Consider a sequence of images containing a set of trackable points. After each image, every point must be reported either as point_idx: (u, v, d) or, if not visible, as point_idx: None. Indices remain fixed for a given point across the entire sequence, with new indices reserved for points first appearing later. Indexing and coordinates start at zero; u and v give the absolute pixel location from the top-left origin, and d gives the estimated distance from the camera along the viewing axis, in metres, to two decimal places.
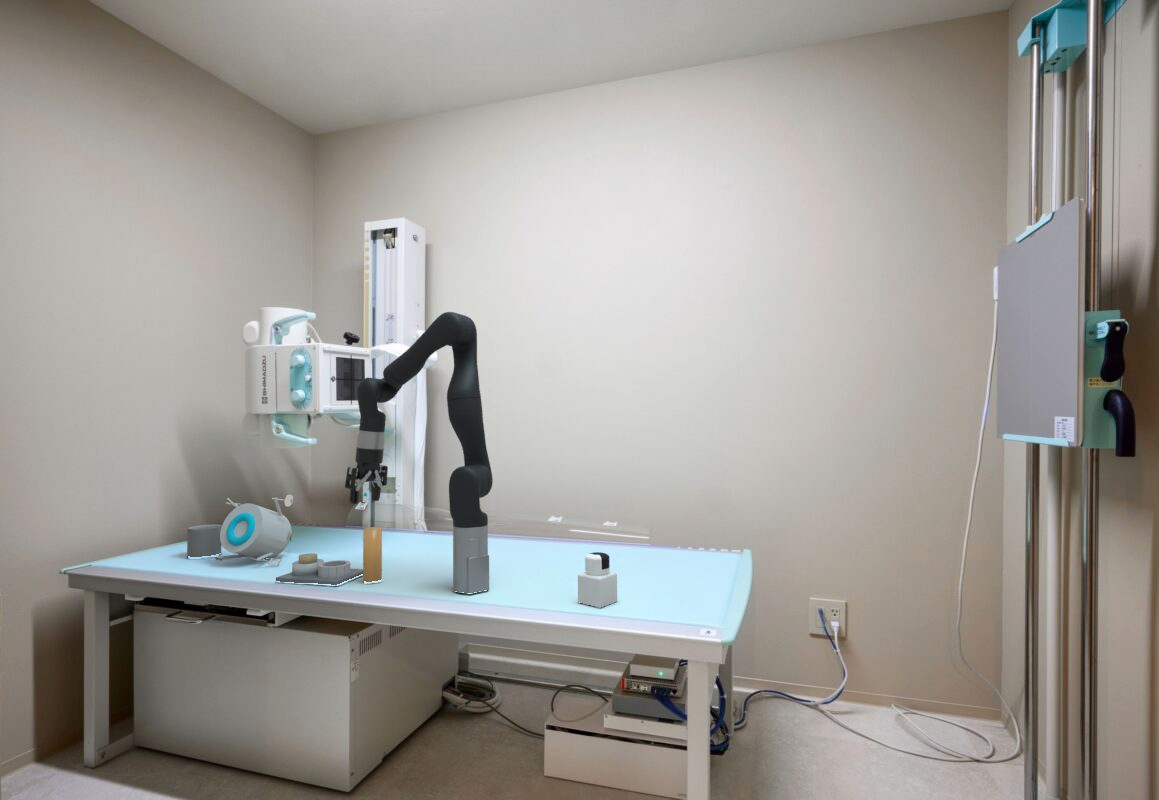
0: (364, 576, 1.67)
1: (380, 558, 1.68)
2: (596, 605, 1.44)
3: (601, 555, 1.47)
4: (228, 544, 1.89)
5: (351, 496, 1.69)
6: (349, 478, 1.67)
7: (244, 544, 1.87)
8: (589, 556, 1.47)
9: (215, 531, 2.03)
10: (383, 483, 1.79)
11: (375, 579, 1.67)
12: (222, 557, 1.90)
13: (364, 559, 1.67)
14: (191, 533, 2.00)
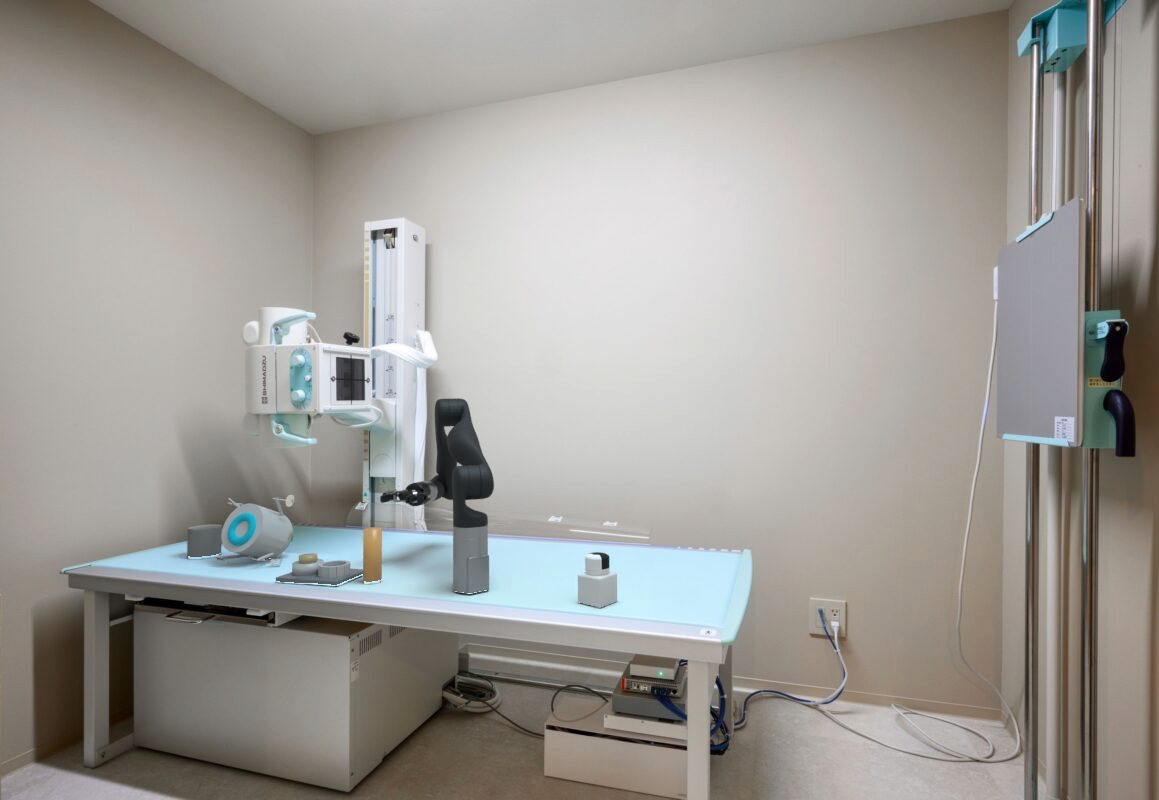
0: (364, 576, 1.67)
1: (380, 558, 1.68)
2: (596, 605, 1.44)
3: (601, 555, 1.47)
4: (229, 544, 1.89)
5: None
6: None
7: (245, 544, 1.87)
8: (589, 556, 1.47)
9: (215, 531, 2.03)
10: None
11: (375, 579, 1.67)
12: (223, 557, 1.90)
13: (364, 559, 1.67)
14: (191, 533, 2.00)
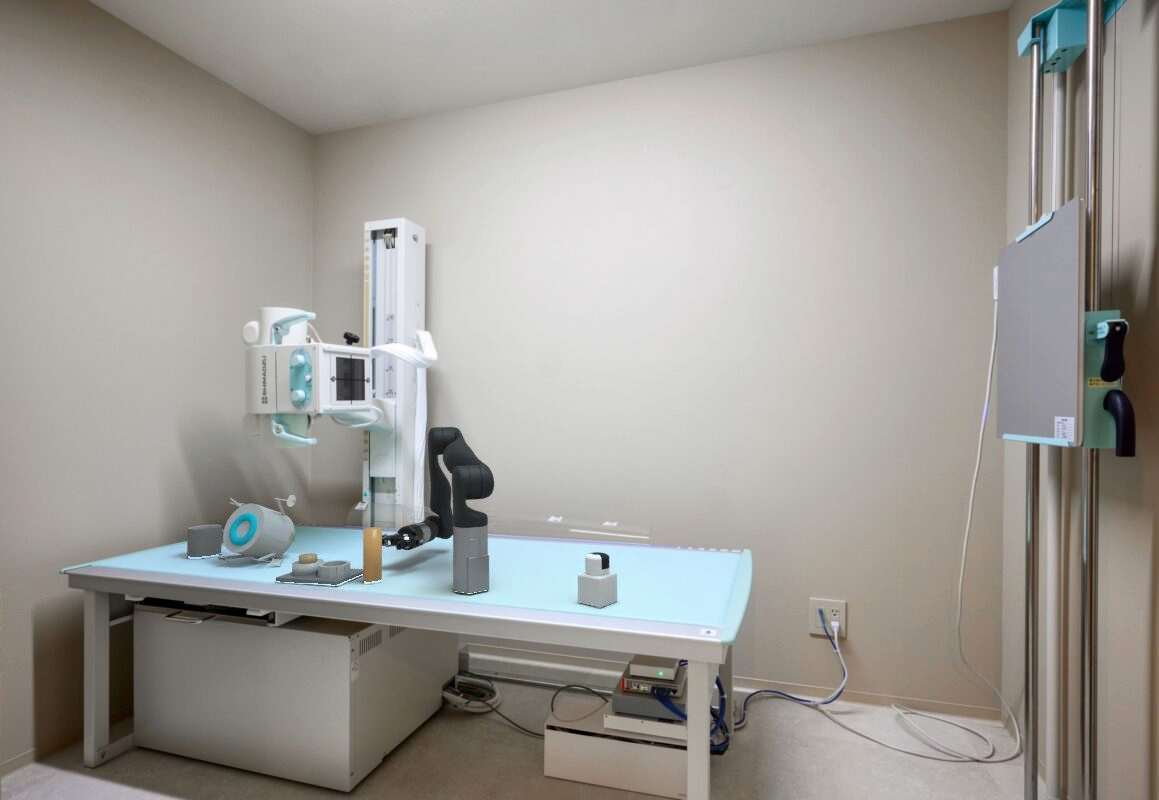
0: (364, 576, 1.67)
1: (380, 558, 1.68)
2: (596, 605, 1.44)
3: (601, 555, 1.47)
4: (230, 544, 1.89)
5: None
6: None
7: (246, 544, 1.87)
8: (589, 556, 1.47)
9: (215, 531, 2.03)
10: None
11: (375, 579, 1.67)
12: (225, 557, 1.90)
13: (364, 559, 1.67)
14: (191, 533, 2.00)
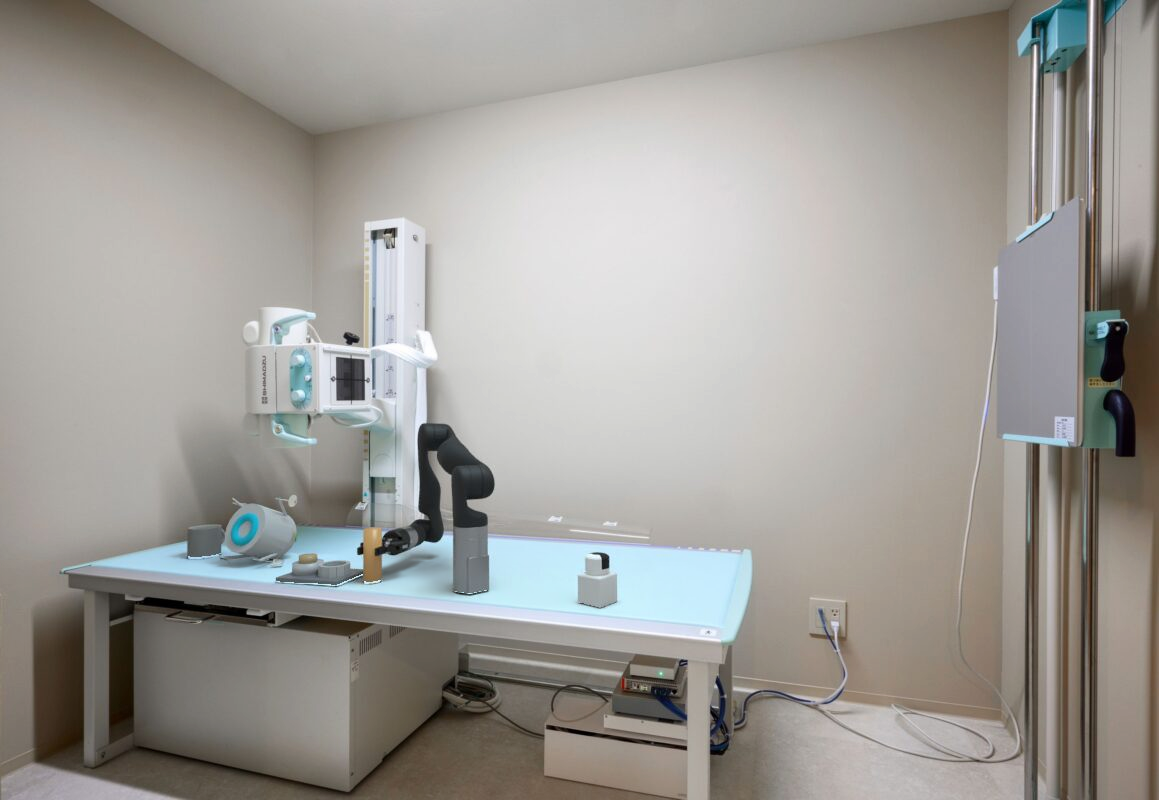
0: (364, 576, 1.67)
1: (380, 558, 1.68)
2: (596, 605, 1.44)
3: (601, 555, 1.47)
4: (232, 544, 1.89)
5: None
6: None
7: (247, 544, 1.87)
8: (589, 556, 1.47)
9: (215, 531, 2.03)
10: None
11: (375, 579, 1.67)
12: (227, 557, 1.90)
13: (364, 559, 1.67)
14: (191, 533, 2.00)
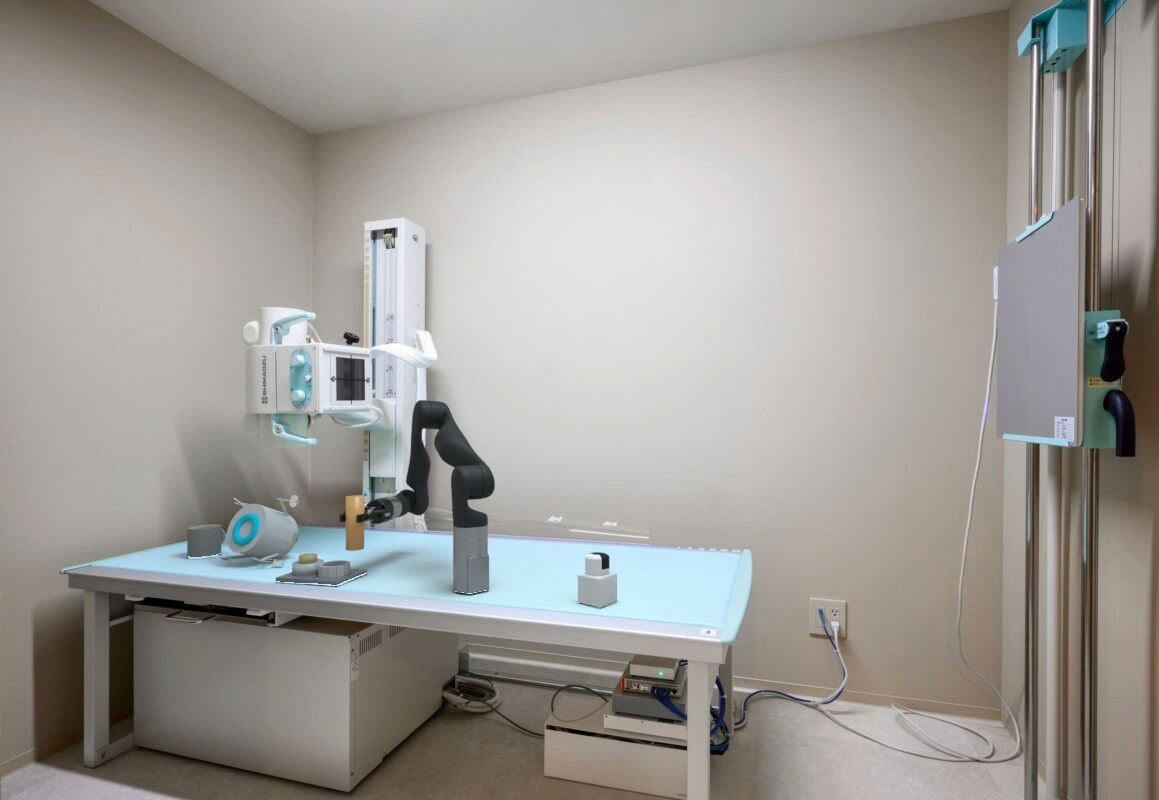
0: (346, 543, 1.70)
1: (362, 525, 1.71)
2: (596, 605, 1.44)
3: (601, 555, 1.47)
4: (233, 544, 1.89)
5: None
6: None
7: (248, 544, 1.87)
8: (589, 556, 1.47)
9: (215, 531, 2.03)
10: None
11: (357, 545, 1.69)
12: (228, 557, 1.90)
13: (346, 526, 1.70)
14: (191, 533, 2.00)
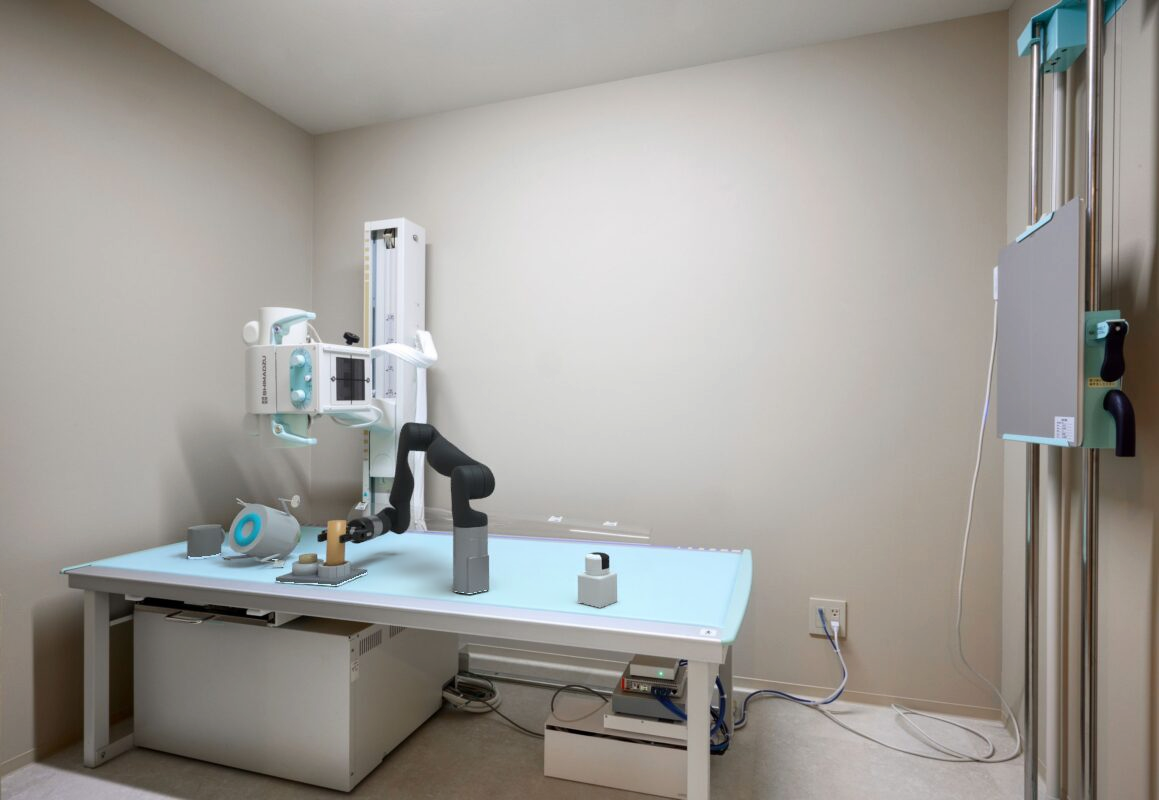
0: None
1: (343, 550, 1.72)
2: (596, 605, 1.44)
3: (601, 555, 1.47)
4: (235, 544, 1.89)
5: None
6: None
7: (250, 545, 1.86)
8: (589, 556, 1.47)
9: (215, 531, 2.03)
10: None
11: None
12: (230, 557, 1.90)
13: (327, 551, 1.71)
14: (191, 533, 2.00)
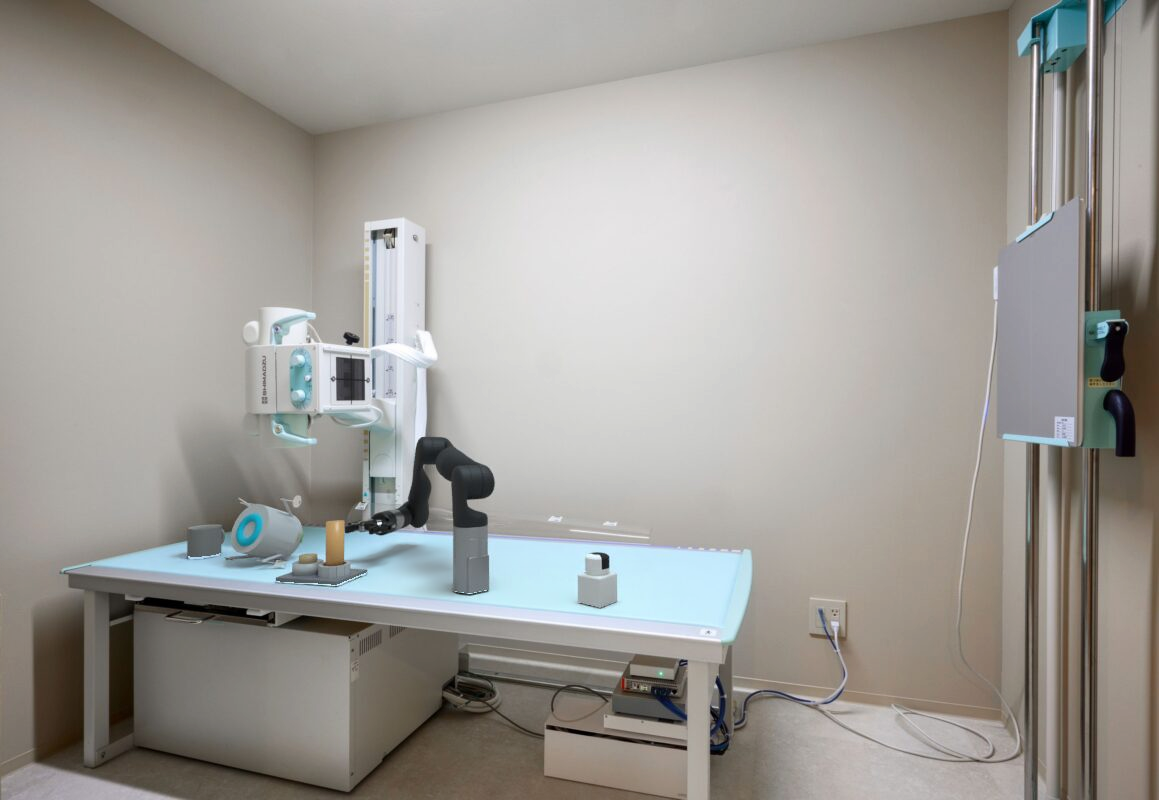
0: None
1: (342, 550, 1.72)
2: (596, 605, 1.44)
3: (601, 555, 1.47)
4: (237, 544, 1.89)
5: None
6: None
7: (251, 545, 1.86)
8: (589, 556, 1.47)
9: (215, 531, 2.03)
10: None
11: None
12: (232, 557, 1.90)
13: (326, 551, 1.71)
14: (191, 533, 2.00)
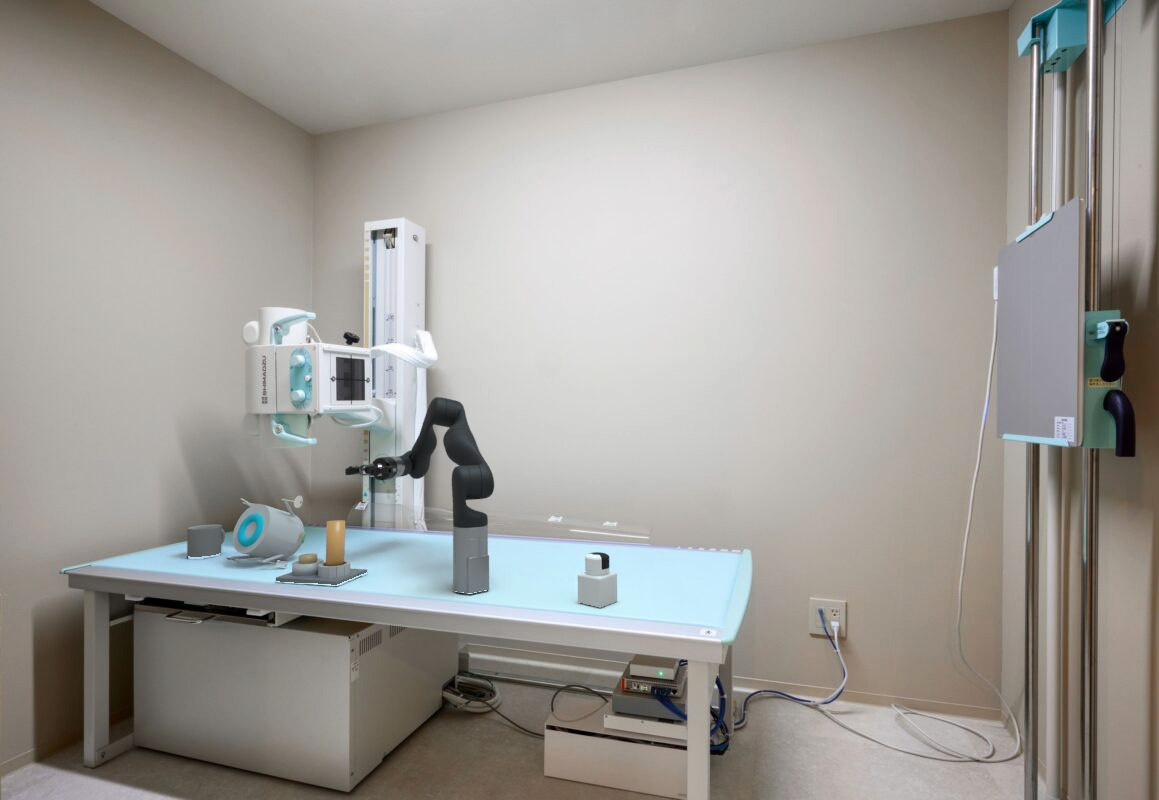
0: None
1: (342, 550, 1.72)
2: (596, 605, 1.44)
3: (601, 555, 1.47)
4: (238, 544, 1.88)
5: None
6: None
7: (252, 545, 1.86)
8: (589, 556, 1.47)
9: (215, 531, 2.03)
10: None
11: None
12: (234, 557, 1.90)
13: (326, 551, 1.71)
14: (191, 533, 2.00)
